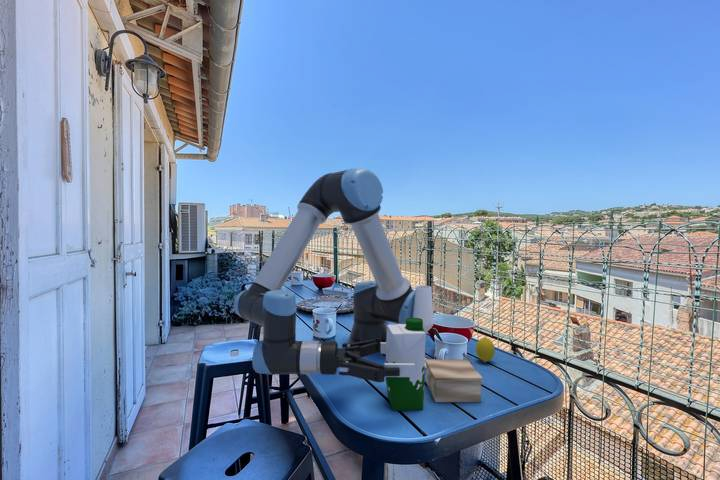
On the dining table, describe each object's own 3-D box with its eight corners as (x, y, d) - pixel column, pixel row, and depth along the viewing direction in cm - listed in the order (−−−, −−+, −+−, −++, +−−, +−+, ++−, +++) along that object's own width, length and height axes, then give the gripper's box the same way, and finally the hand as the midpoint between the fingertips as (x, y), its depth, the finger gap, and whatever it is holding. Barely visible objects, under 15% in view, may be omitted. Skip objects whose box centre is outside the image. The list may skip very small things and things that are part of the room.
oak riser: (424, 380, 91) (424, 359, 90) (466, 381, 91) (466, 359, 91) (434, 402, 79) (434, 377, 79) (482, 402, 79) (482, 378, 79)
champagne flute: (417, 368, 99) (418, 289, 98) (408, 360, 105) (409, 285, 105) (437, 366, 101) (438, 288, 100) (427, 358, 107) (428, 284, 106)
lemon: (496, 366, 101) (496, 340, 101) (477, 365, 102) (477, 339, 102) (492, 359, 106) (492, 335, 106) (474, 358, 107) (474, 334, 107)
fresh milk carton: (428, 411, 75) (429, 324, 74) (389, 413, 74) (389, 325, 74) (418, 393, 84) (419, 315, 83) (383, 394, 83) (383, 315, 82)
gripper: (325, 353, 91) (402, 354, 91) (312, 399, 66) (418, 400, 66) (326, 326, 91) (403, 327, 91) (313, 362, 66) (419, 363, 66)
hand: (409, 358), depth 78 cm, fingers open, 13 cm apart
